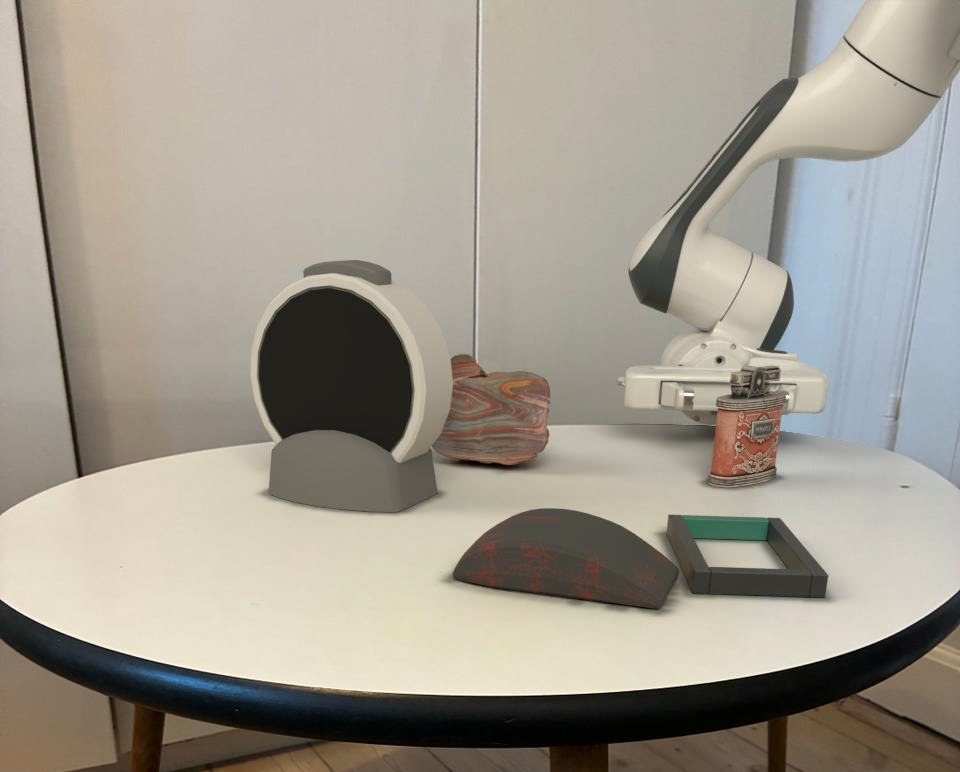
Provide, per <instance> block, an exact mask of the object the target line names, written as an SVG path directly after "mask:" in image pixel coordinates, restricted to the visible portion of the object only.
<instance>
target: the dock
mask: <svg viewBox="0 0 960 772" xmlns="http://www.w3.org/2000/svg"><path fill="white" fill-rule="evenodd" d="M666 535H667V538H668V540H669V543H670V544H671V546H672V550H673V551H674V553H675V556H676V558H677V561H678V563H679V565H680V568H681V569H682V572H683V574H684V576H685V579H686V582H687V584H688V586H689V588H690V590H691V593H692V594H699V595H700V594H702V595H708V594H709V595H735V596H761V597H762V596H763V597H764V596H766V597H793V598H794V597H795V598H826V594H827V587H828V580H829V574H828V573H827V571H826V570H824V568H823V567H822V565H820V563H819V562H818V561H817V559H815V557H813V555H812V554H811V553H810V551H809V550H808V549H807V548H806V547H805V546H804V544H803V543H802V542H801V541H800V540H799V538H798V537H797V536H796V535H795V533H793V531H791V529H790V528H789V527H788V526H787V524H786V523H785V522H784V520H783V519H782V518H781V517H761V516H760V517H758V516H730V515H729V516H728V515H726V516H725V515H697V514H696V515H695V514H690V515H689V514H683V515H682V514H668V515H667V524H666ZM695 539H702V540H703V539H709V540H735V541H737V540H739V541H741V540H743V541H767V542H768V544H769V545H770V547H772V549H773V550H774V551H775V553H776V555H777V556H778V557H779V559H780V560H781V561H782V562H783V564H784V565H785V566H786V568H768V567H767V568H765V567H764V568H762V567H736V566H735V567H734V566H733V567H732V566H731V567H730V566H709V564H708V563H707V561H706V559H705V557H704V556H703V554H702V552H701V549H700V547H699V546H698V543H697V541H696V540H695Z"/></svg>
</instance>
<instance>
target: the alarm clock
mask: <svg viewBox="0 0 960 772" xmlns="http://www.w3.org/2000/svg"><path fill="white" fill-rule="evenodd" d="M302 273H303V275H302V276H303V278H301V279H299V280H297V281H295V282H293V283H291V284H289V285H286V287H284V289H282V291H281V292H279V293H278V294H277V295H276V296H275V297H274V298H273V299H272V300H271V301H270V302H269V304H268V305H267V307H266V309H265V311H264V313H263V314H262V316H261V318H260V320H259V321H258V323H257V325H256V330H255V334H254V337H253V339H252V340H253V341H252V345H251V348H250V367H249V368H250V369H249V371H250V372H249V376H250V382H251V383H250V384H251V388H252V389H251V390H252V393H253V400H254V403H255V406H256V409H257V411H258V414H259V416H260V420H261V422H262V424H263V427H264V428H265V430H266V432H267V433H268V434H269V436H270V438H271V439H272V441H273V443H274V444H275V445H274V447H273V448H272V449H271V454H270V465H269V467H270V468H269V483H268V495H271V496H273V497H275V498H278V499H281V500H285V501H289V502H294V503H298V504H302V505H303V504H304V505H306V506H307V505H308V506H313V507H318V508H319V507H320V508H327V509H335V510H343V511H357V512H369V513H370V512H371V513H398V512H402V511H404V510H406V509H408V508H411V507H412V506H414V505H416V504H419V503H421V502H423V501H425V500H427V499H429V498H432V497H434V496H436V495H437V494H438V488H437V480H436V471H435V465H434V457H433V451H432V449H431V448H432V445H433V443H434V442H435V441H436V439H437V438H438V437H439V435H440V434H441V432H442V429H443V426H444V424H445V421H446V419H447V416H448V414H449V411H450V405H451V397H452V389H453V378H452V368H451V354H450V352H449V351H450V350H449V347H448V346H447V343H446V339H445V337H444V334H443V331H442V329H441V327H440V325H439V324H438V322H437V321H436V319H435V317H434V316H433V314H432V313H431V311H430V309H429V308H428V306H427V305H426V304H425V303H424V302H423V301H421V299H420V298H418V296H416V294H414V293H413V292H412V291H411V290H410V289H409V288H408V287H406V286H405V285H403V284H401V283H400V282H397V281H395V280H394V279H392V272H391V271H390V270H389V269H387V268H385V267H383V266H382V265H380V264H377V263H373V262H370V261H365V260H359V259H352V260H350V259H349V260H348V259H347V260H346V259H345V260H330V261H329V260H328V261H322V262H318V263H313V264H312V265H311V264H310V265H309V266H307V267H305V268H304V269H303V271H302Z"/></svg>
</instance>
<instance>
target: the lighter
mask: <svg viewBox="0 0 960 772" xmlns="http://www.w3.org/2000/svg"><path fill="white" fill-rule="evenodd" d="M780 375H781V369H779V366H774V365H771V366H762V367H755V366H748V365H746V366H743V367H742V368H741V370H740V371H739V372H731V379H730V384H731V391H732V394H730V395H725V396H720V397H717V400H716V407H717V408H718V412H717V422H716V424H715V430H714V431H715V432H714V441H713V451H712V458H711V459H712V461H711V462H712V463H711V468H710V469H711V470H710V471H709V472H708V477H707V484H709V485H711V486H713V487H718V488H719V487H720V488H735V487H737V488H738V487H745V486H751V485H755V484H760V483H764V482H767V481H770V480H772V479H776V477H777V470H778V466H776V460H777V453H778V445H779V439H780V431H781V423H782V416H783V415H782V408H783V404H784V403H785V402H786V395H787V394H785V393H781V392H774V391H770V385H769V382H773V381H780Z"/></svg>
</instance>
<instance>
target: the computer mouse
mask: <svg viewBox="0 0 960 772" xmlns="http://www.w3.org/2000/svg"><path fill="white" fill-rule="evenodd" d="M451 575H452V577H453V578H454V579H456V580H459V581H462V582H466V583H471V584H477V585H481V586H486V587H491V588H496V589H502V590H510V591H516V592H524V593H530V594H531V593H532V594H539V595H547V596H554V597H560V598H561V597H562V598H569V599H575V600H584V601H585V600H586V601H592V602H600V603H601V602H602V603H609V604H617V605H627V606H632V607H633V606H634V607H639V608H640V607H642V608H647V609H648V608H649V609H655V610H657V609H660V608H662V606H663V605H664V603H665V601H666V599H667V596H668V595H669V593H670V591H671V590H672V588H673V586H674V584H675V583H676V581H677V579H678V578H679V575H680V569H679V567H678V566H677V565H676V564H675V563H673V562H672V561H671V560H670V559H669V558H668V557H667V556H666V555H664V554H663V553H662V552H661V551H659V550H658V549H657V548H656V547H654V546H653V545H651V544H650V543H649V542H647V541H646V540H645V539H643V538H642V537H640V536H639V535H637V534H636V533H634V532H633V531H631V530H629V529H627V528H626V527H624V526H623V525H621V524H618V523H616V522H614V521H612V520H609V519H606V518H603V517H601V516H599V515H598V516H597V515H593V514H591V513H588V512H583V511H579V510H576V509H575V510H574V509H568V508H567V509H566V508H556V507H555V508H554V507H548V508H547V507H546V508H545V507H544V508H543V507H542V508H535V509H529V510H525V511H521V512H519V513H516V514H514V515H512V516H510V517H508V518H505V519H503V520H502V521H500V522H499V523H497V524H495V525H494V526H492V527H490V528H489V529H488V530H487V531H484V533H482V535H480V536H479V537H478V538H477V539H476V540H475V541H474V542H473V543H472V544H471V545H470V546H469V548H467V550H466V551H465V552H464V553H463V554H462V556H461V557H460V559H458V562H457V564H456V565H455V567H454V569H453V572H452V574H451Z"/></svg>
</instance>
